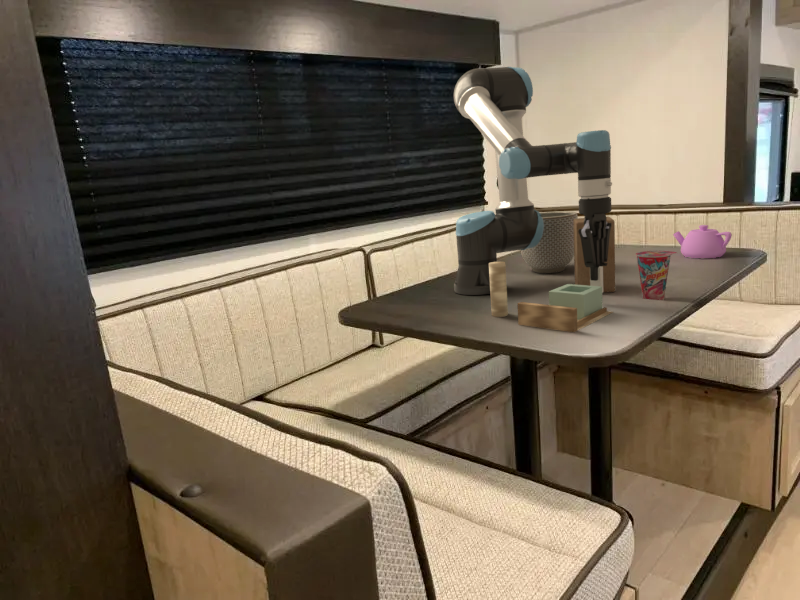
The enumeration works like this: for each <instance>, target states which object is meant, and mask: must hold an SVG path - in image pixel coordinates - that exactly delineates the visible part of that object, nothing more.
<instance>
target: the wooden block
mask: <svg viewBox="0 0 800 600" xmlns="http://www.w3.org/2000/svg"><path fill="white" fill-rule="evenodd" d="M606 218H607V220H606V222H607V223H611V224H612V226H611V230H610V238H609V249H608V260H607V262H604V263H607V266H603V293H614V292H615V291H616V264H615V263H616V249H615V248H616V247H615V245H616V239H615V232H616V231H615V230H616V229H615V226H616V225H615V220H614V219H613V218H612V217H610V216H606ZM583 227H584V217H582V218H581V217H580V218H578V219H574V220H573V228H574V257H573V260H574V261H573V262H574V263H573V265H574V285H587V286H590V267H586V266H585V263H584V257H583V250H582V243H581V238H580V235H579V232H578V231H579V229H583ZM603 293H602V294H603Z"/></svg>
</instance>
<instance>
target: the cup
mask: <svg viewBox="0 0 800 600" xmlns="http://www.w3.org/2000/svg"><path fill="white" fill-rule="evenodd" d="M673 254H678V252H676V251H669V250H668V251H667V250H647V251H639V252H636V253H635V256H636V260H637V267H638V274H639V281H640V289H641V290H640V291H641V296H642V297H641V298H642V299H643V300H652V301H664V300H665V297H666V288H667V283H668V274H669V269H670V262H671V258H672V257H671V256H672V255H673Z"/></svg>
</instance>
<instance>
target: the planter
mask: <svg viewBox="0 0 800 600" xmlns="http://www.w3.org/2000/svg"><path fill="white" fill-rule="evenodd" d="M540 214H541V217H542V218H543V223H544V229H543V235H542V238H541V240H540V241H539V243H538V244H537V245H536V246H535V247H533V248H529V249H525V250H520V254H521V257H522V259H523V261H524V262H525V264H526V265H528V267H530V268H531V269H532V271H533V272H534V273H537V274H555V273H561V272H563V271H565V269H566V266H568V265H569V264H570V262H572V260H574V228H573V220H574V219H578V213H577V211H576V212H575V211H568V210H567V211H564V210H563V211H559V210H558V211H544V212H542V211H541V212H540Z"/></svg>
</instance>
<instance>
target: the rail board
mask: <svg viewBox="0 0 800 600" xmlns="http://www.w3.org/2000/svg"><path fill="white" fill-rule="evenodd" d="M613 313H614V311H611V310H609V311H608V308H607V307H602V309H600V310H598V311H596V312H594V313H592V314H590V315H588V316H586V317H584V318H582V319H580V320H579V319H577V308H572V307H563V306H554V305H549V304H543V303H542V304H541V303H535V302H524V301H520V302H518V303H517V319H518V320H517V323H518V325H519V326H526V327H532V328H541V329H547V330H555V331H556V330H557V331H561V332H562V331H563V332H569V333H575V332H578V331H580V330H582V329H584V328H585V327H588V326H589V325H591V324H592V323H595V322H597V321H599V320H601V319H603V318H604V317H607V316H608V315H610V314H613Z"/></svg>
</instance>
